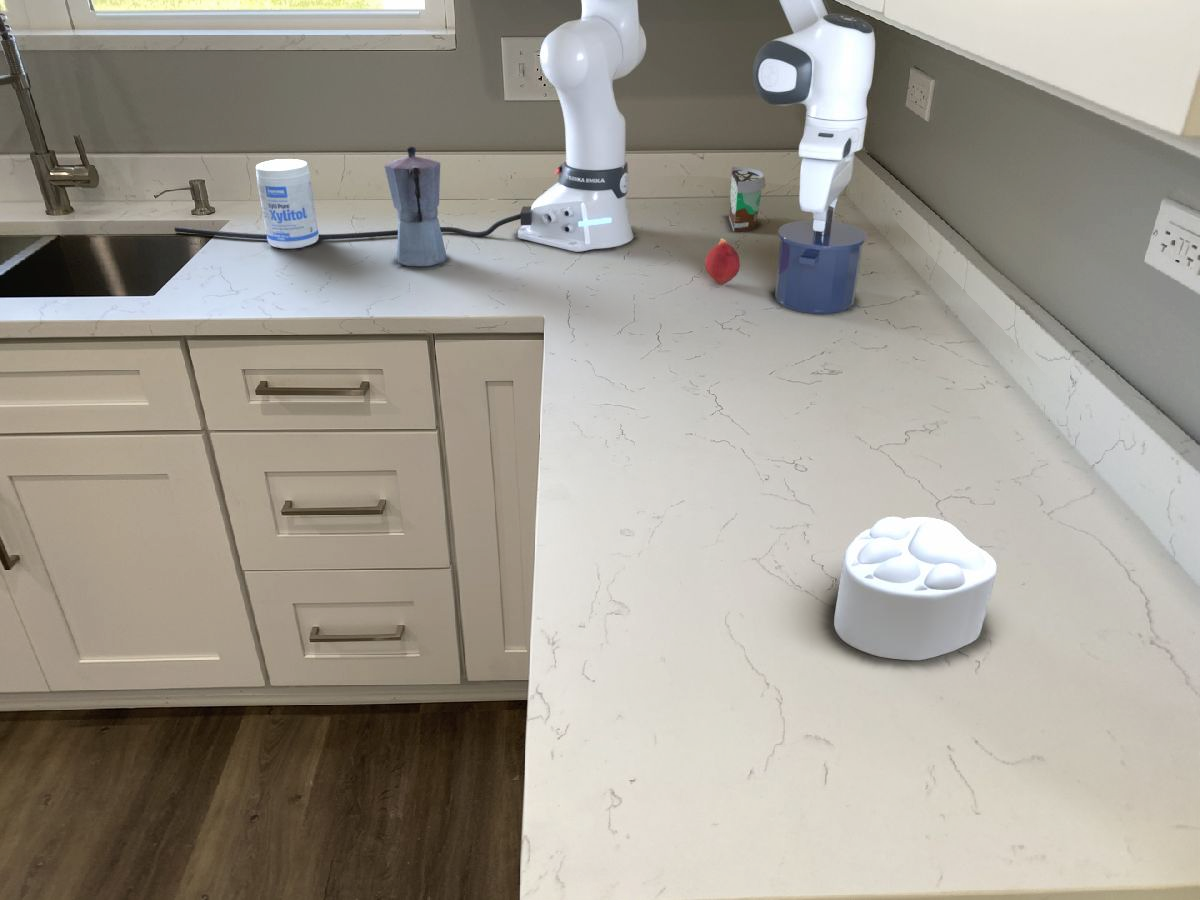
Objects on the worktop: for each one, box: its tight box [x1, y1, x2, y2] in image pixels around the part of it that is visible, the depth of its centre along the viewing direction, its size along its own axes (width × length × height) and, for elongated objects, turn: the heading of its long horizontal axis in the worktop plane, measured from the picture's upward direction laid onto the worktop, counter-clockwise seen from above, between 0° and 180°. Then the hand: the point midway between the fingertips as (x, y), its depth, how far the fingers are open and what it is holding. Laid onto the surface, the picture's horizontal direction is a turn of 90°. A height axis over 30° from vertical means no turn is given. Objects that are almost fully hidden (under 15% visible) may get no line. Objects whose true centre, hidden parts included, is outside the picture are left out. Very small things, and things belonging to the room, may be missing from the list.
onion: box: [704, 237, 741, 286], centre depth 155 cm, size 6×6×8 cm
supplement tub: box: [255, 158, 320, 250], centre depth 174 cm, size 10×10×15 cm
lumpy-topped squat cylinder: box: [833, 516, 998, 661], centre depth 82 cm, size 10×13×9 cm
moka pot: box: [384, 146, 447, 267], centre depth 163 cm, size 10×15×20 cm, turn 18°
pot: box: [774, 238, 864, 315], centre depth 149 cm, size 13×18×10 cm
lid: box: [777, 206, 867, 251], centre depth 145 cm, size 14×14×5 cm
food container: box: [728, 166, 767, 232], centre depth 183 cm, size 12×6×10 cm, turn 179°
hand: (822, 225), depth 145 cm, fingers open, 3 cm apart
